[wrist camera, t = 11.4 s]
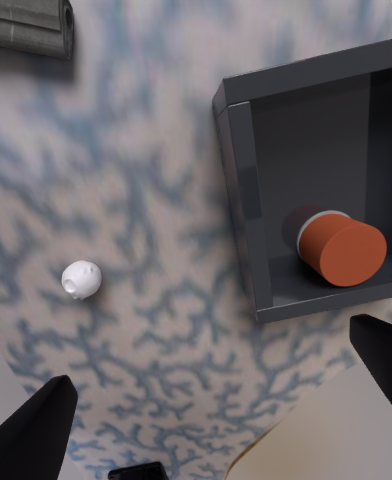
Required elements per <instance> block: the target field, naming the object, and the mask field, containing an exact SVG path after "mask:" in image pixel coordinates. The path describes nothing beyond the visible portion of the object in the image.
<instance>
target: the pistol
mask: <svg viewBox="0 0 392 480" xmlns="http://www.w3.org/2000/svg"><path fill="white" fill-rule="evenodd" d="M72 34H73V9H72V6H71V4H70V2H69V0H0V47H5V48H11V49H16V50H21V51H26V52H31V53H36V54H41V55H46V56H51V57H56V58H61V59H66V60H71V58H72Z"/></svg>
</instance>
